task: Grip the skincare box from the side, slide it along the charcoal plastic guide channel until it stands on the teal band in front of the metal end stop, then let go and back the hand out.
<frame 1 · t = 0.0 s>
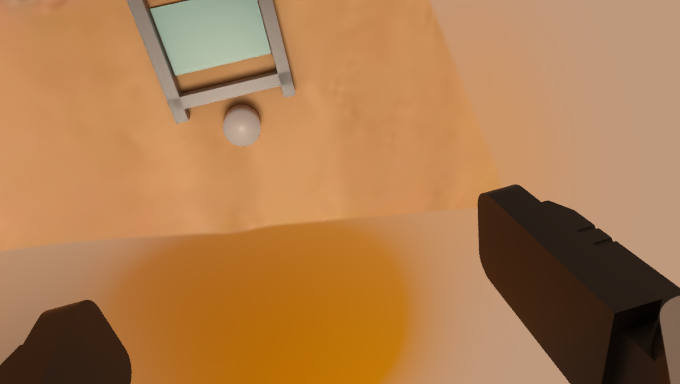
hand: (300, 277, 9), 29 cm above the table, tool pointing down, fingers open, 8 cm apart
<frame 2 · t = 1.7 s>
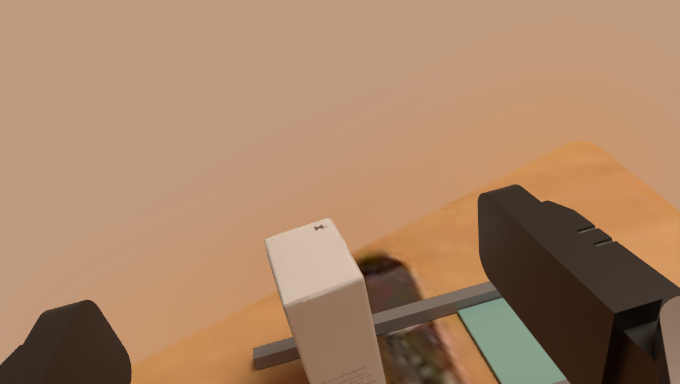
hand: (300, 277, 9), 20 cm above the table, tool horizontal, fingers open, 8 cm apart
guide channel: (433, 368, 29), on the table
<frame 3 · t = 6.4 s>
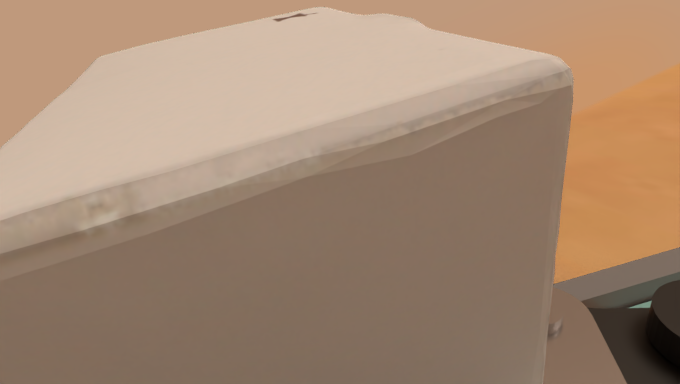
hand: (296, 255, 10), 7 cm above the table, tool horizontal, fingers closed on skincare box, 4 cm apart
when the fingers open (7 cm above the table, at t = 10.3 s): skincare box stays where it is, resting on guide channel.
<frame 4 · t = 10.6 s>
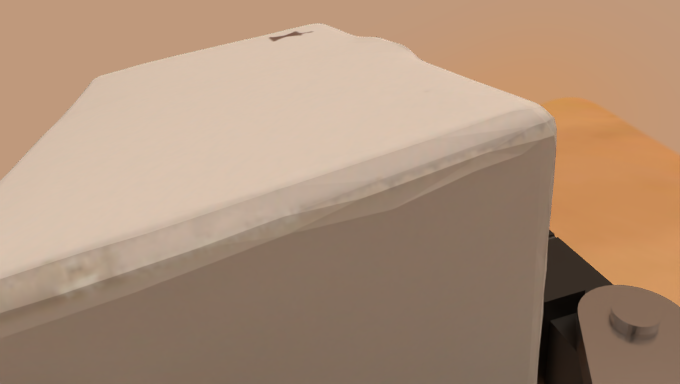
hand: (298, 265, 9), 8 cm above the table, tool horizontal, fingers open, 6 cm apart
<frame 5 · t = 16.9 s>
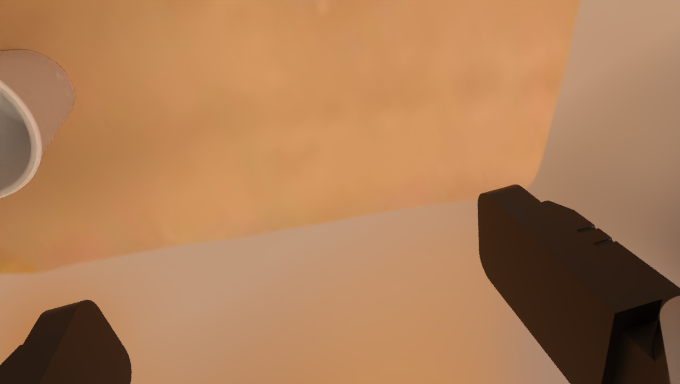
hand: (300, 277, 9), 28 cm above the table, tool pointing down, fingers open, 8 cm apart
dixie cup: (32, 88, 32), on the table
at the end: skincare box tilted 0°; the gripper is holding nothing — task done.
